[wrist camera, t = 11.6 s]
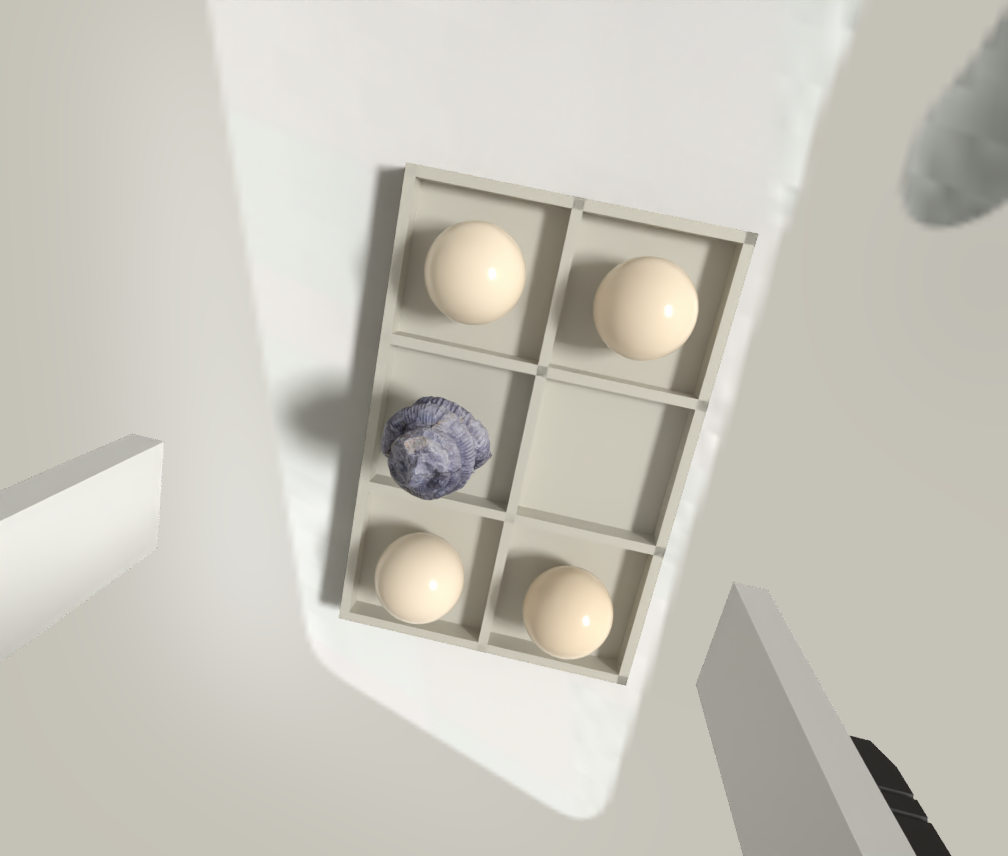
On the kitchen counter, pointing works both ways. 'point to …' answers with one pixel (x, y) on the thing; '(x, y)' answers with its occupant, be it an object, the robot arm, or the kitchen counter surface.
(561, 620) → the egg far right
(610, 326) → the egg near right
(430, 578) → the egg far left
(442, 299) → the egg near left
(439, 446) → the seashell
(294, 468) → the kitchen counter surface
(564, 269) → the egg tray
